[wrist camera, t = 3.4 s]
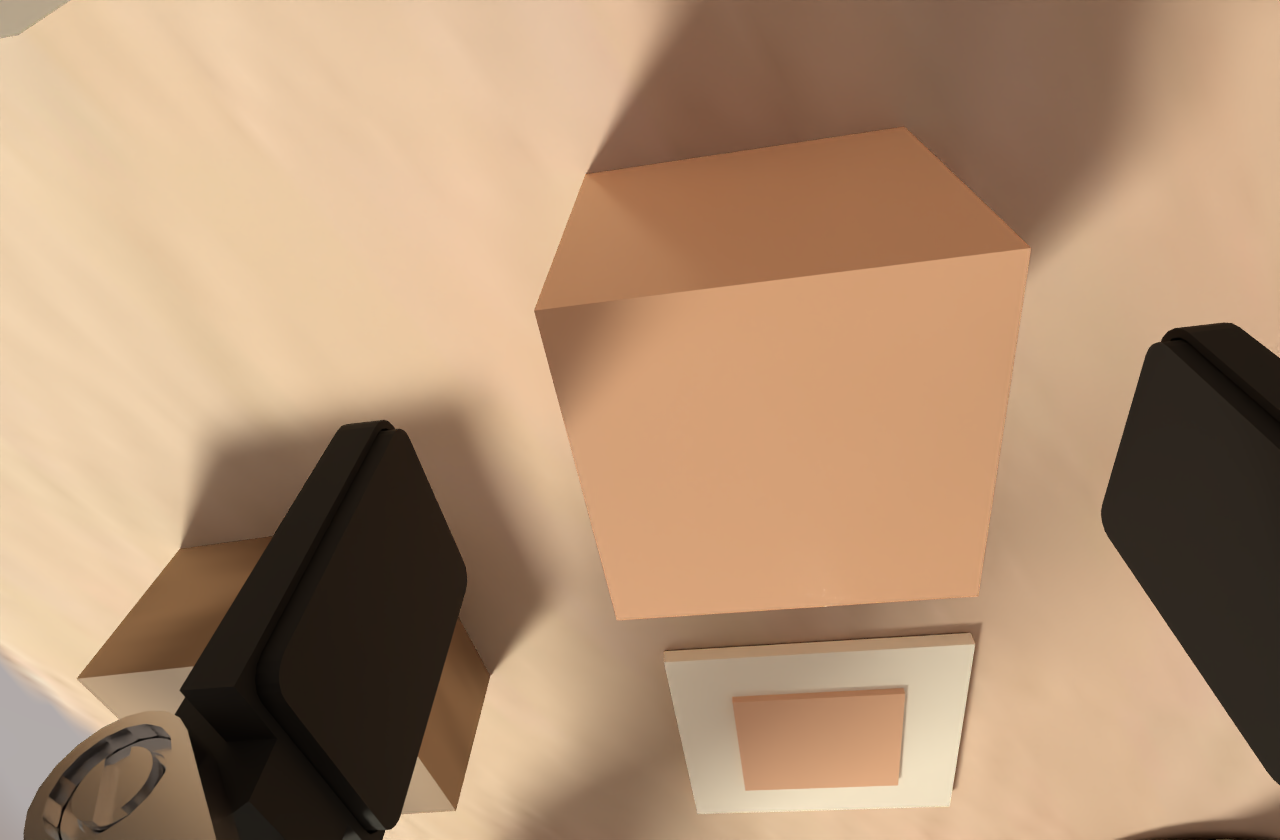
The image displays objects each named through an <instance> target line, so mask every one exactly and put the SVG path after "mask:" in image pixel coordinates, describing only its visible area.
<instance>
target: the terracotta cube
mask: <svg viewBox="0 0 1280 840" xmlns="http://www.w3.org/2000/svg"><path fill="white" fill-rule="evenodd" d="M1030 252H1031V247H1030V246H1029V245H1028V244H1027V243H1025V242H1024V241H1023V240H1022V239H1021V238H1020V237H1019V236H1018V235H1017V234H1016V233H1015V232H1014V231H1013V230H1012V229H1011V228H1010V227H1009V226H1008V225H1007V224H1006V223H1005V222H1004V221H1003V220H1001V219H1000V218H999V217H998V216H997V215H996V214H995V213H994V212H993V211H992V210H991V209H990V208H989V207H988V206H987V205H986V204H985V203H984V202H983V201H982V200H981V199H980V198H979V197H977V196H976V195H975V194H974V193H973V192H972V191H971V190H970V189H969V188H968V187H967V186H966V185H965V184H964V183H963V182H962V181H961V180H960V179H959V178H958V177H957V176H956V175H955V174H954V173H952V172H951V171H950V170H949V169H948V168H947V167H946V166H945V165H944V164H943V163H942V162H941V161H940V160H939V159H938V158H937V157H936V156H935V155H934V154H933V153H932V152H931V151H930V150H928V149H927V148H926V147H925V146H924V145H923V144H922V143H921V142H920V141H919V140H918V139H917V138H916V137H915V136H914V135H913V134H912V133H911V132H910V131H909V130H908V129H907V128H906V127H898V128H891V129H884V130H878V131H871V132H864V133H858V134H851V135H844V136H838V137H831V138H824V139H817V140H811V141H804V142H797V143H791V144H784V145H777V146H771V147H764V148H757V149H751V150H744V151H737V152H731V153H724V154H717V155H711V156H704V157H697V158H691V159H684V160H677V161H671V162H664V163H657V164H651V165H644V166H637V167H630V168H624V169H617V170H610V171H604V172H597V173H590V174H586V175H585V177H584V180H583V183H582V185H581V188H580V191H579V193H578V196H577V199H576V201H575V204H574V207H573V209H572V212H571V214H570V217H569V220H568V222H567V225H566V228H565V230H564V233H563V236H562V238H561V241H560V244H559V246H558V249H557V251H556V254H555V257H554V259H553V262H552V265H551V267H550V270H549V273H548V275H547V278H546V281H545V283H544V286H543V289H542V291H541V294H540V296H539V299H538V302H537V304H536V307H535V310H534V312H535V315H536V319H537V323H538V327H539V330H540V334H541V338H542V342H543V345H544V349H545V353H546V357H547V360H548V364H549V368H550V372H551V375H552V379H553V383H554V387H555V390H556V394H557V398H558V402H559V405H560V409H561V413H562V417H563V420H564V424H565V428H566V431H567V435H568V439H569V443H570V446H571V450H572V454H573V458H574V461H575V465H576V469H577V473H578V476H579V480H580V484H581V488H582V491H583V495H584V499H585V503H586V506H587V510H588V514H589V518H590V521H591V525H592V529H593V533H594V536H595V540H596V544H597V548H598V551H599V555H600V559H601V563H602V566H603V570H604V574H605V578H606V581H607V585H608V589H609V593H610V596H611V600H612V604H613V608H614V611H615V615H616V619H617V620H631V619H646V618H661V617H676V616H691V615H706V614H721V613H736V612H751V611H766V610H781V609H796V608H811V607H825V606H840V605H855V604H870V603H885V602H900V601H915V600H930V599H945V598H960V597H975V596H978V594H979V588H980V581H981V574H982V568H983V561H984V555H985V548H986V542H987V535H988V528H989V522H990V515H991V509H992V502H993V496H994V489H995V482H996V476H997V469H998V463H999V456H1000V450H1001V443H1002V436H1003V430H1004V423H1005V417H1006V410H1007V404H1008V397H1009V390H1010V384H1011V377H1012V371H1013V364H1014V358H1015V351H1016V344H1017V338H1018V331H1019V325H1020V318H1021V312H1022V305H1023V298H1024V292H1025V285H1026V279H1027V272H1028V266H1029V259H1030Z"/></svg>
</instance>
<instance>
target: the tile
mask: <svg viewBox="0 0 1280 840" xmlns="http://www.w3.org/2000/svg"><path fill="white" fill-rule="evenodd" d="M974 649H975V642H974V640H973V637H972V635H971V633H960V634H944V635H927V636H911V637H894V638H877V639H861V640H844V641H827V642H811V643H794V644H777V645H761V646H744V647H727V648H711V649H694V650H678V651H664V666H665V670H666V675H667V679H668V684H669V688H670V693H671V697H672V702H673V706H674V711H675V715H676V720H677V724H678V729H679V733H680V738H681V742H682V747H683V751H684V756H685V760H686V765H687V769H688V774H689V778H690V783H691V787H692V792H693V796H694V801H695V805H696V810H697V814H717V813H750V812H783V811H816V810H849V809H882V808H916V807H949V806H950V801H951V795H952V789H953V782H954V776H955V770H956V763H957V757H958V750H959V744H960V738H961V731H962V725H963V719H964V712H965V706H966V700H967V693H968V687H969V681H970V674H971V668H972V662H973V655H974Z"/></svg>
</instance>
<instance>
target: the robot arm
mask: <svg viewBox="0 0 1280 840" xmlns="http://www.w3.org/2000/svg"><path fill="white" fill-rule="evenodd" d="M1101 518H1102V523H1103V527H1104V530H1105V532H1106V534H1107V536H1108V537H1109V539H1110V540H1111V542H1112V543H1113V545H1114V546H1115V548H1116V549H1117V551H1118V552H1119V554H1120V555H1121V557H1122V558H1123V560H1124V561H1125V563H1126V564H1127V566H1128V567H1129V568H1130V570H1131V571H1132V573H1133V574H1134V576H1135V577H1136V579H1137V580H1138V582H1139V583H1140V585H1141V586H1142V588H1143V589H1144V591H1145V592H1146V594H1147V595H1148V597H1149V598H1150V599H1151V601H1152V602H1153V604H1154V605H1155V607H1156V608H1157V610H1158V611H1159V613H1160V614H1161V616H1162V617H1163V619H1164V620H1165V622H1166V623H1167V625H1168V626H1169V628H1170V629H1171V631H1172V632H1173V633H1174V635H1175V636H1176V638H1177V639H1178V641H1179V642H1180V644H1181V645H1182V647H1183V648H1184V650H1185V651H1186V653H1187V654H1188V656H1189V657H1190V659H1191V660H1192V662H1193V663H1194V665H1195V666H1196V667H1197V669H1198V670H1199V672H1200V673H1201V675H1202V676H1203V678H1204V679H1205V681H1206V682H1207V684H1208V685H1209V687H1210V688H1211V690H1212V691H1213V693H1214V694H1215V696H1216V697H1217V698H1218V700H1219V701H1220V703H1221V704H1222V706H1223V707H1224V709H1225V710H1226V712H1227V713H1228V715H1229V716H1230V718H1231V719H1232V721H1233V722H1234V724H1235V725H1236V727H1237V728H1238V730H1239V731H1240V732H1241V734H1242V735H1243V737H1244V738H1245V740H1246V741H1247V743H1248V744H1249V746H1250V747H1251V749H1252V750H1253V752H1254V753H1255V755H1256V756H1257V758H1258V759H1259V761H1260V762H1261V763H1262V765H1263V766H1264V768H1265V769H1266V771H1267V772H1268V773H1269V775H1270V776H1271V777H1272V778H1273V780H1275V781H1276V782H1277V783H1278V784H1279V785H1280V358H1279V357H1278V356H1276V355H1275V354H1274V353H1272V352H1271V351H1270V350H1269V349H1267V348H1266V347H1265V346H1263V345H1262V344H1261V343H1259V342H1258V341H1257V340H1256V339H1254V338H1253V337H1252V336H1250V335H1249V334H1248V333H1246V332H1245V331H1244V330H1243V329H1241V328H1240V327H1238V326H1236V325H1234V324H1232V323H1216V324H1208V325H1199V326H1191V327H1182V328H1174V329H1172V330H1170V331H1168V332H1167V333H1166V334H1165V335H1164V337H1163V338H1162V340H1161V342H1158V343H1155V344H1153V345H1152V346H1151V347H1150V348H1149V349H1148V351H1147V354H1146V356H1145V360H1144V363H1143V367H1142V370H1141V373H1140V377H1139V380H1138V384H1137V387H1136V391H1135V394H1134V397H1133V401H1132V404H1131V408H1130V411H1129V415H1128V418H1127V422H1126V425H1125V428H1124V432H1123V435H1122V439H1121V442H1120V446H1119V449H1118V452H1117V456H1116V459H1115V463H1114V466H1113V470H1112V473H1111V476H1110V480H1109V483H1108V487H1107V490H1106V494H1105V497H1104V501H1103V504H1102V509H1101ZM466 585H467V573H466V567H465V564H464V562H463V559H462V557H461V555H460V552H459V550H458V548H457V546H456V543H455V541H454V539H453V537H452V534H451V532H450V530H449V527H448V525H447V523H446V521H445V518H444V516H443V514H442V512H441V509H440V507H439V505H438V502H437V500H436V498H435V496H434V493H433V491H432V489H431V487H430V484H429V482H428V480H427V477H426V475H425V473H424V471H423V468H422V466H421V464H420V461H419V459H418V457H417V455H416V452H415V450H414V448H413V446H412V443H411V441H410V439H409V437H408V435H407V433H406V432H405V431H404V430H402V429H395V428H394V427H393V425H392V424H391V423H390V422H388V421H385V420H380V421H371V422H363V423H354V424H346V425H343V426H341V427H340V428H339V430H338V431H337V432H336V434H335V436H334V437H333V439H332V440H331V442H330V444H329V445H328V447H327V449H326V450H325V452H324V454H323V455H322V457H321V458H320V460H319V462H318V463H317V465H316V467H315V468H314V470H313V472H312V473H311V475H310V477H309V478H308V480H307V481H306V483H305V485H304V486H303V488H302V490H301V491H300V493H299V495H298V496H297V498H296V500H295V501H294V503H293V504H292V506H291V508H290V509H289V511H288V513H287V514H286V516H285V518H284V519H283V521H282V522H281V524H280V526H279V527H278V529H277V531H276V532H275V534H274V536H273V537H272V539H271V541H270V542H269V544H268V545H267V547H266V549H265V550H264V552H263V554H262V555H261V557H260V559H259V560H258V562H257V564H256V565H255V567H254V568H253V570H252V572H251V573H250V575H249V577H248V578H247V580H246V582H245V583H244V585H243V586H242V588H241V590H240V591H239V593H238V595H237V596H236V598H235V600H234V601H233V603H232V605H231V606H230V608H229V609H228V611H227V613H226V614H225V616H224V618H223V619H222V621H221V623H220V624H219V626H218V628H217V629H216V631H215V632H214V634H213V636H212V637H211V639H210V641H209V642H208V644H207V646H206V647H205V649H204V650H203V652H202V654H201V655H200V657H199V659H198V660H197V662H196V664H195V665H194V667H193V669H192V670H191V672H190V673H189V675H188V677H187V678H186V680H185V682H184V683H183V685H182V687H181V688H180V690H179V691H180V692H181V693H182V694H183V695H184V696H185V698H184V700H183V701H182V703H181V705H180V706H179V708H178V710H177V711H176V713H175V715H173V714H171V713H169V712H167V711H145V712H141V713H137V714H133V715H130V716H126V717H124V718H122V719H120V720H118V721H115V722H113V723H111V724H109V725H107V726H105V727H103V728H101V729H100V730H98V731H97V732H96V733H94V734H93V735H91V736H90V737H89V738H87V739H86V740H84V741H83V742H81V743H80V744H79V745H77V746H76V747H75V748H74V749H73V750H72V751H71V752H70V753H69V754H68V755H67V756H66V757H65V758H64V759H63V760H62V761H61V762H59V763H58V765H56V767H55V768H54V769H53V770H52V772H51V773H50V774H49V776H48V777H47V778H46V779H45V781H44V782H43V783H42V785H41V786H40V787H39V789H38V791H37V793H36V795H35V797H34V799H33V801H32V803H31V805H30V807H29V809H28V811H27V816H26V821H25V827H24V840H382V839H383V836H384V833H385V830H389V829H392V828H393V827H394V826H395V825H396V824H397V822H398V820H399V818H400V815H401V813H402V809H403V806H404V802H405V799H406V796H407V792H408V789H409V785H410V782H411V778H412V775H413V771H414V768H415V764H416V761H417V757H418V754H419V750H420V747H421V744H422V740H423V737H424V733H425V730H426V726H427V723H428V719H429V716H430V712H431V709H432V705H433V702H434V699H435V695H436V692H437V688H438V685H439V681H440V678H441V674H442V671H443V667H444V664H445V660H446V657H447V653H448V650H449V647H450V643H451V640H452V636H453V633H454V629H455V626H456V622H457V619H458V615H459V612H460V608H461V605H462V601H463V598H464V595H465V591H466ZM1218 840H1232V839H1218Z"/></svg>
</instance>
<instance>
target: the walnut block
mask: <svg viewBox="0 0 1280 840" xmlns="http://www.w3.org/2000/svg"><path fill="white" fill-rule="evenodd" d="M272 537H273V536H270V537H263V538H256V539H249V540H242V541H234V542H227V543H220V544H213V545H206V546H198V547H191V548H184V549H180V550H179V551H178V552H177V553H176V555H175V556H174V557H173V558H172V560H171V561H170V562H169V563H168V565H167V566H166V567H165V568H164V570H163V571H162V572H161V573H160V575H159V576H158V577H157V578H156V580H155V581H154V582H153V583H152V585H151V586H150V587H149V588H148V590H147V591H146V592H145V594H144V595H143V596H142V597H141V599H140V600H139V601H138V602H137V604H136V605H135V606H134V607H133V609H132V610H131V611H130V612H129V614H128V615H127V616H126V617H125V619H124V620H123V621H122V622H121V624H120V625H119V626H118V627H117V629H116V630H115V631H114V632H113V634H112V635H111V636H110V638H109V639H108V640H107V641H106V643H105V644H104V645H103V646H102V648H101V649H100V650H99V651H98V653H97V654H96V655H95V656H94V658H93V659H92V660H91V661H90V663H89V664H88V665H87V666H86V668H85V669H84V670H83V671H82V673H81V674H80V675H79V676H78V678H77V680H78V681H79V682H80V683H82V684H83V685H84V686H85V687H86V688H87V689H88V690H89V691H90V692H91V693H92V694H93V695H94V696H95V697H96V698H97V699H98V700H100V701H101V702H102V703H103V704H104V705H105V706H106V707H107V708H108V709H109V710H110V711H111V712H112V713H113V714H114V715H115V716H116V717H118V718H119V719H122V718H124V717H126V716H130V715H133V714H137V713H141V712H145V711H167V712H169V713H171V714H173V715H175V713H176V711H177V710H178V708H179V706H180V705H181V703H182V701H183V700H184V698H185V696H184V695H183V694H182V693H181V692H180V691H179V690H180V688H181V687H182V685H183V683H184V682H185V680H186V678H187V677H188V675H189V673H190V672H191V670H192V669H193V667H194V665H195V664H196V662H197V660H198V659H199V657H200V655H201V654H202V652H203V650H204V649H205V647H206V646H207V644H208V642H209V641H210V639H211V637H212V636H213V634H214V632H215V631H216V629H217V628H218V626H219V624H220V623H221V621H222V619H223V618H224V616H225V614H226V613H227V611H228V609H229V608H230V606H231V605H232V603H233V601H234V600H235V598H236V596H237V595H238V593H239V591H240V590H241V588H242V586H243V585H244V583H245V582H246V580H247V578H248V577H249V575H250V573H251V572H252V570H253V568H254V567H255V565H256V564H257V562H258V560H259V559H260V557H261V555H262V554H263V552H264V550H265V549H266V547H267V545H268V544H269V542H270V541H271V539H272ZM489 679H490V675H489V673H488V671H487V669H486V667H485V666H484V664H483V662H482V660H481V658H480V656H479V654H478V653H477V651H476V649H475V647H474V645H473V643H472V641H471V640H470V638H469V636H468V634H467V632H466V630H465V628H464V627H463V625H462V623H461V621H460V619H459V617H458V619H457V622H456V626H455V629H454V633H453V636H452V640H451V643H450V647H449V650H448V653H447V657H446V660H445V664H444V667H443V671H442V674H441V678H440V681H439V685H438V688H437V692H436V695H435V699H434V702H433V705H432V709H431V712H430V716H429V719H428V723H427V726H426V730H425V733H424V737H423V740H422V744H421V747H420V750H419V754H418V757H417V761H416V764H415V768H414V771H413V775H412V778H411V782H410V785H409V789H408V792H407V796H406V799H405V802H404V806H403V809H402V813H401V814H413V813H429V812H444V811H456V808H457V804H458V800H459V796H460V792H461V788H462V785H463V781H464V777H465V773H466V769H467V765H468V761H469V757H470V753H471V749H472V745H473V741H474V738H475V734H476V730H477V726H478V722H479V718H480V714H481V710H482V706H483V702H484V698H485V694H486V691H487V687H488V683H489Z"/></svg>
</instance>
